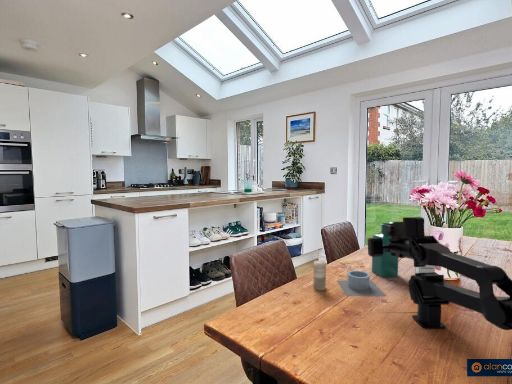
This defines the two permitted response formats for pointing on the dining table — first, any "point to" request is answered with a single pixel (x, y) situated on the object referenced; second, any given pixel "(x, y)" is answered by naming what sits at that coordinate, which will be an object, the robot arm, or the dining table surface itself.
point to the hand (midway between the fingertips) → (381, 243)
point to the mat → (372, 290)
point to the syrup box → (425, 269)
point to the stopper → (319, 275)
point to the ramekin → (358, 280)
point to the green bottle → (385, 257)
